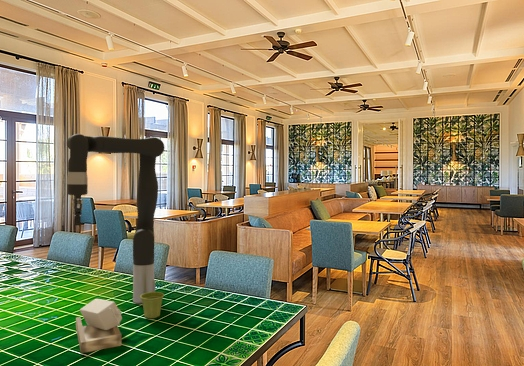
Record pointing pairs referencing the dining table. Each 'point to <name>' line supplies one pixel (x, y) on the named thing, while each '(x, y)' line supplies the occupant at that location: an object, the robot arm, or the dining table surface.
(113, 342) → the u rest
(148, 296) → the plant pot
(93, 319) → the milk carton
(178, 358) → the dining table surface
